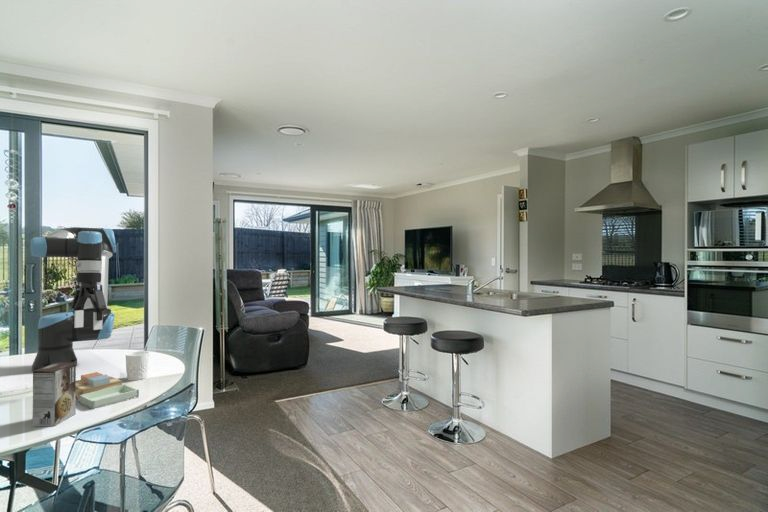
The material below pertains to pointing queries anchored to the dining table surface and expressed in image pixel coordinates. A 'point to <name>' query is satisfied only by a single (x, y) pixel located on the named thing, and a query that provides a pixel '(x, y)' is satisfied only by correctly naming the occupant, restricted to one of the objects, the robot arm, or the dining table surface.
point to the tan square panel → (86, 388)
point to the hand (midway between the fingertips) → (88, 328)
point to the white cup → (137, 365)
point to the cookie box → (54, 394)
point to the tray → (108, 396)
